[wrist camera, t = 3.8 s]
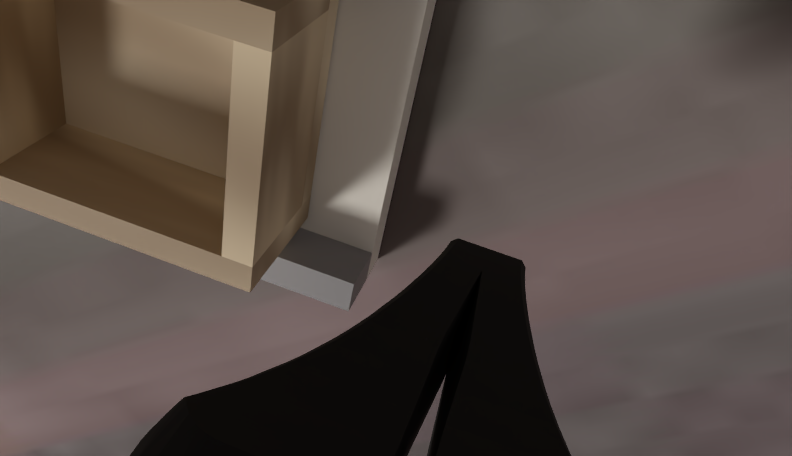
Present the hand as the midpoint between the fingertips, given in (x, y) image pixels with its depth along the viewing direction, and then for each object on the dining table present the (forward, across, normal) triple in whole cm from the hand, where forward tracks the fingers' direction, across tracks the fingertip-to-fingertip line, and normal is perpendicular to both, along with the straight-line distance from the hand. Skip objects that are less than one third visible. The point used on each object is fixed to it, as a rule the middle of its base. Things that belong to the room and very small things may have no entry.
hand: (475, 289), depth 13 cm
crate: (+5, +9, 0) cm, 10 cm away
